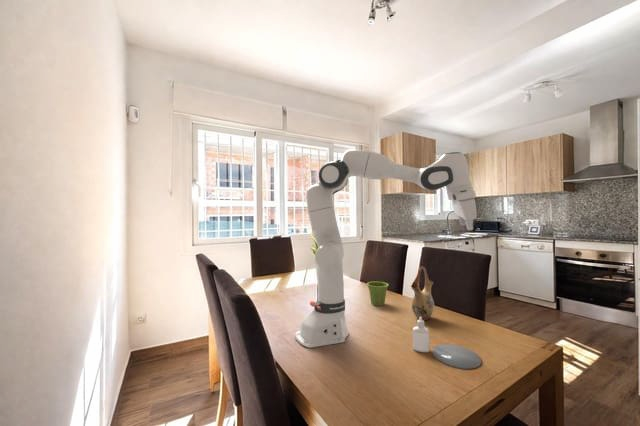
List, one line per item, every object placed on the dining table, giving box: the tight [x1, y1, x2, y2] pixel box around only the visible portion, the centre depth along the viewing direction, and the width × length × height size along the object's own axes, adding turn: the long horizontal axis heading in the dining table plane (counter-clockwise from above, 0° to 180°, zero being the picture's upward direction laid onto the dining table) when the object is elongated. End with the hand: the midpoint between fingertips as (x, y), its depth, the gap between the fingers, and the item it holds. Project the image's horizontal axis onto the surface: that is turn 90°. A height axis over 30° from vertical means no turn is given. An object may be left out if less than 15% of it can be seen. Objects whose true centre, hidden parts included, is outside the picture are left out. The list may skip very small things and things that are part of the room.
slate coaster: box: [432, 344, 482, 370], centre depth 91 cm, size 15×15×1 cm
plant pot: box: [366, 281, 389, 307], centre depth 147 cm, size 12×12×11 cm
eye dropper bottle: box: [412, 317, 430, 353], centre depth 96 cm, size 4×6×12 cm
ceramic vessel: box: [410, 266, 435, 321], centre depth 125 cm, size 16×9×25 cm, turn 127°
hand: (466, 227), depth 103 cm, fingers open, 8 cm apart
